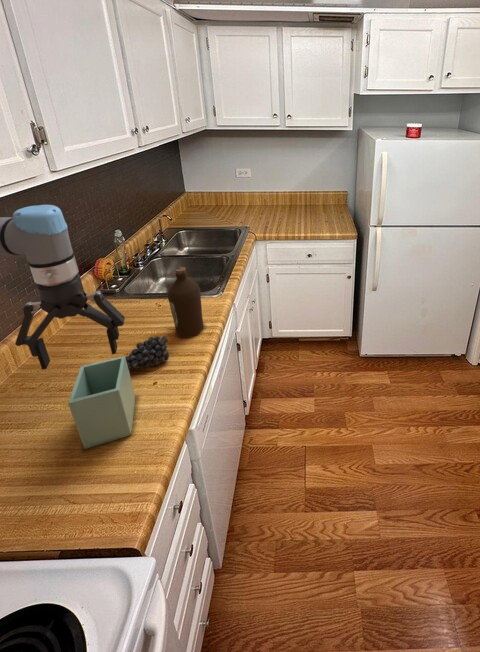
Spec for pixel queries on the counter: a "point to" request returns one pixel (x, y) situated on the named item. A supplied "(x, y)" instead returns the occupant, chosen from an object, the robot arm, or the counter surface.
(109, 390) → the open box
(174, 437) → the counter surface
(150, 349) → the fruit
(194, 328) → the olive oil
